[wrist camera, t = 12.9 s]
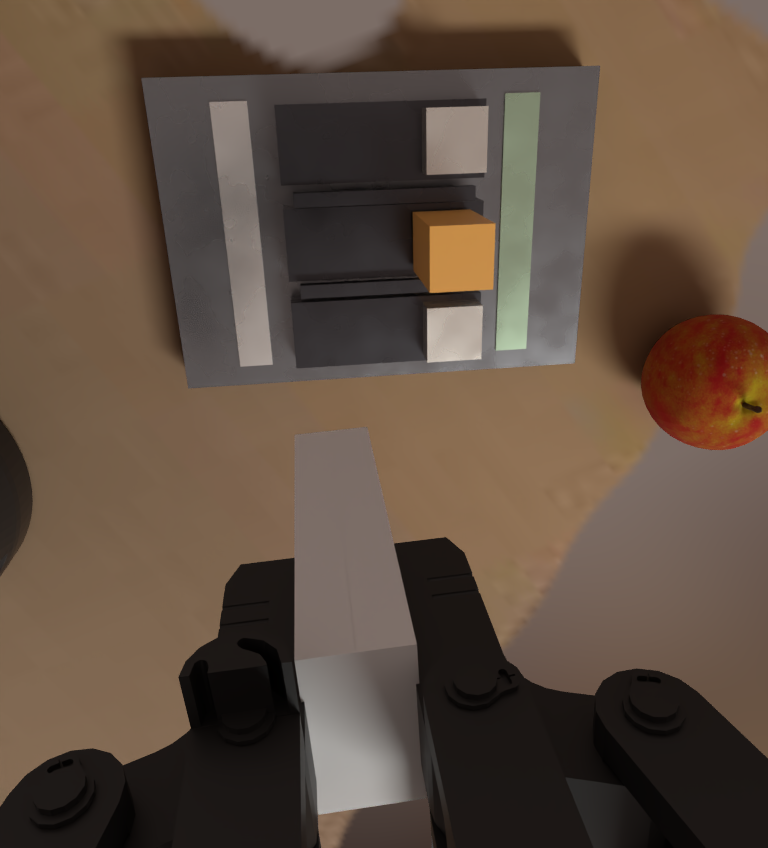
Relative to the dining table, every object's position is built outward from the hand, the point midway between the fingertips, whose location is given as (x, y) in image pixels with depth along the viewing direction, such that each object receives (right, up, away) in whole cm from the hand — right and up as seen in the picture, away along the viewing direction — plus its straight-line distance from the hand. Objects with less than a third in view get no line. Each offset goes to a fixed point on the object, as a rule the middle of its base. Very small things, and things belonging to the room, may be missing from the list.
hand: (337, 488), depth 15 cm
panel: (+1, +11, +20) cm, 23 cm away
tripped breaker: (+4, +10, +17) cm, 20 cm away
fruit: (+18, +5, +25) cm, 31 cm away
